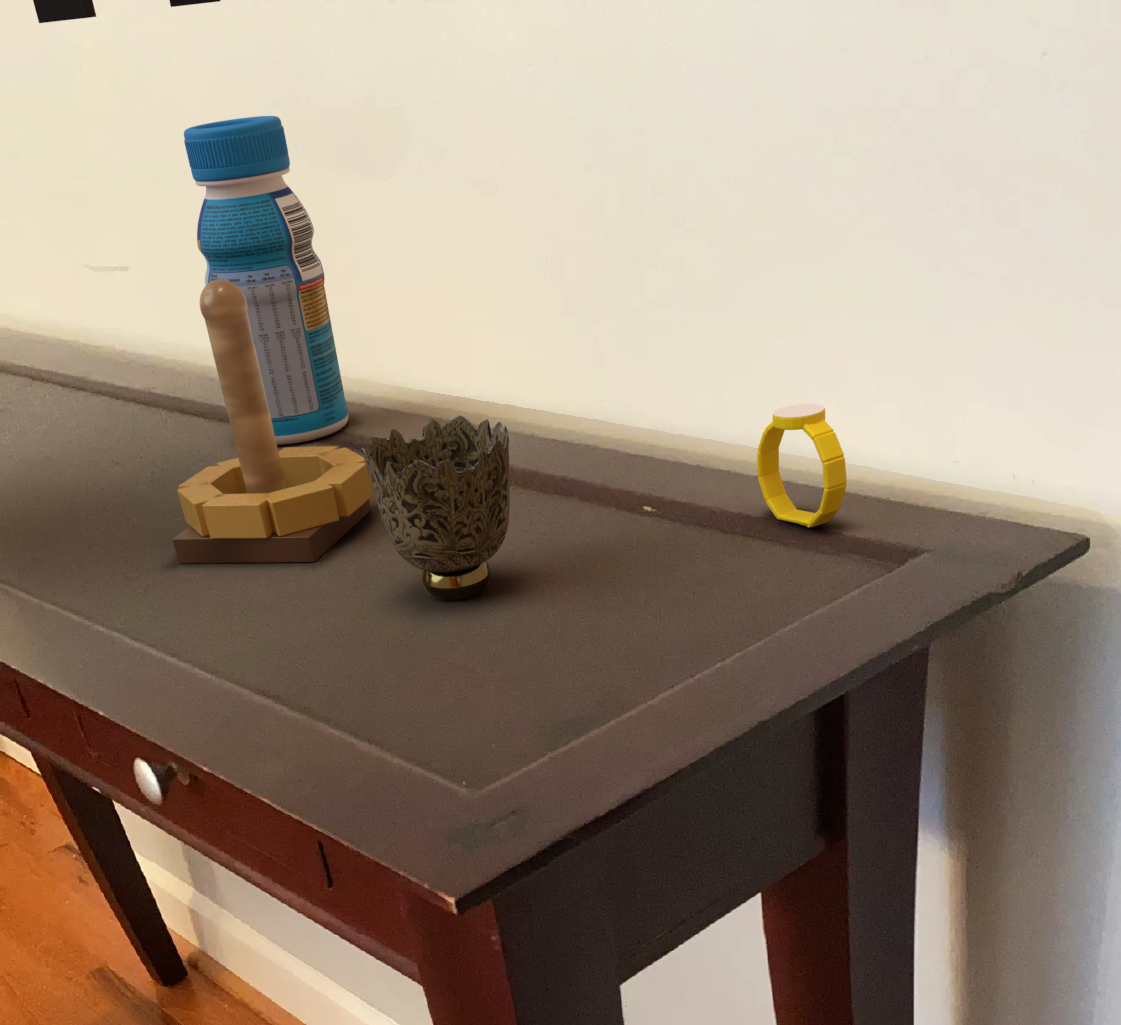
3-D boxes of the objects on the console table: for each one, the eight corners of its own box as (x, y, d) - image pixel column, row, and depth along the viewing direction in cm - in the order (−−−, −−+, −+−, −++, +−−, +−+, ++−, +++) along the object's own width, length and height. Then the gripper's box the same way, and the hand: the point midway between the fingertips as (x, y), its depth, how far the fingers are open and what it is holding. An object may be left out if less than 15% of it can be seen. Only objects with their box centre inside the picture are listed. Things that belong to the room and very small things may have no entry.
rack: (178, 563, 82) (105, 302, 73) (244, 512, 89) (184, 268, 80) (314, 562, 79) (255, 292, 71) (371, 510, 86) (323, 257, 78)
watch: (856, 527, 74) (859, 412, 71) (817, 540, 73) (818, 425, 70) (785, 504, 79) (784, 395, 75) (747, 516, 78) (745, 406, 74)
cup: (415, 630, 69) (386, 469, 65) (373, 587, 75) (343, 436, 70) (548, 594, 71) (530, 436, 67) (497, 555, 77) (477, 406, 72)
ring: (157, 539, 81) (147, 505, 80) (242, 480, 89) (234, 448, 88) (323, 538, 78) (315, 503, 77) (395, 477, 86) (389, 444, 85)
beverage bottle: (264, 455, 99) (190, 133, 87) (227, 434, 105) (153, 130, 93) (369, 428, 102) (312, 113, 90) (327, 409, 108) (268, 111, 96)
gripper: (-114, -732, 47) (75, 19, 60) (206, -551, 66) (297, -9, 79) (-289, -682, 49) (-70, 36, 62) (71, -520, 68) (182, 5, 81)
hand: (136, 12), depth 70 cm, fingers open, 13 cm apart
